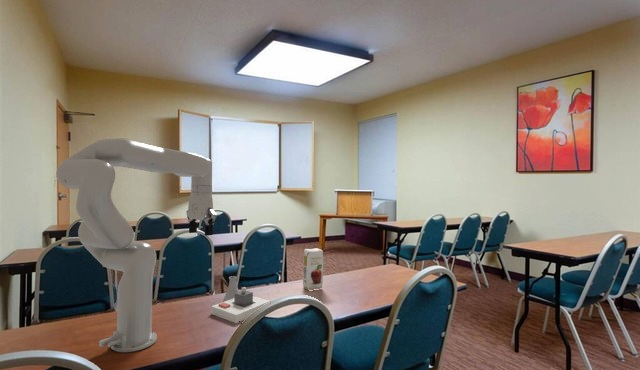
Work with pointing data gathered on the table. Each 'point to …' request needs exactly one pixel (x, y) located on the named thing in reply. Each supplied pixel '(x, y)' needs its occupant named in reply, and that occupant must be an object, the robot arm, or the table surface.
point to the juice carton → (313, 269)
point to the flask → (231, 289)
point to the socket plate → (236, 309)
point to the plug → (243, 298)
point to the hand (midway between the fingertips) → (200, 233)
